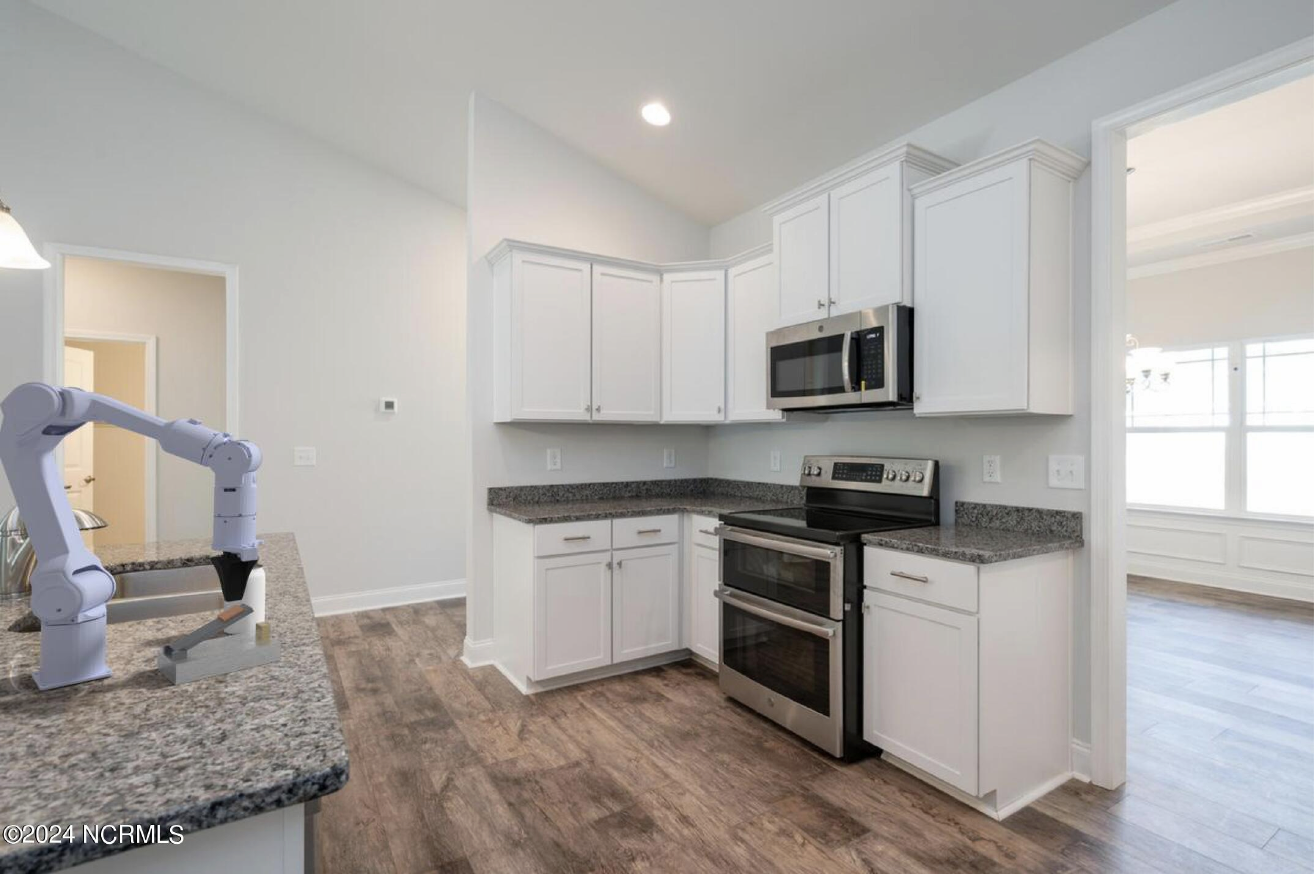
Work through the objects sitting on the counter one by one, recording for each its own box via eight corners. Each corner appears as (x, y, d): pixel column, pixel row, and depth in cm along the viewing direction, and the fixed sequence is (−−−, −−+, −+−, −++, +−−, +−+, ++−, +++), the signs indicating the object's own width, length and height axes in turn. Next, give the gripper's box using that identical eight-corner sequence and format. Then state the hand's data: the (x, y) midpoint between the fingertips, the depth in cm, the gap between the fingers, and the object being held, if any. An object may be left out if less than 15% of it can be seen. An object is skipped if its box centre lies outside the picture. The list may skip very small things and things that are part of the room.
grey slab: (171, 649, 97) (166, 642, 96) (245, 607, 104) (241, 600, 104) (178, 655, 94) (173, 648, 94) (254, 611, 102) (250, 604, 101)
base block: (157, 669, 98) (158, 635, 98) (258, 647, 109) (258, 617, 109) (175, 685, 91) (176, 649, 91) (280, 660, 102) (281, 628, 102)
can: (249, 635, 115) (251, 570, 115) (215, 635, 115) (216, 569, 115) (272, 625, 122) (273, 563, 122) (239, 625, 122) (240, 563, 122)
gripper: (280, 517, 99) (278, 603, 98) (248, 509, 108) (246, 588, 108) (228, 520, 93) (225, 612, 93) (198, 512, 102) (196, 596, 102)
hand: (233, 600), depth 100 cm, fingers closed
